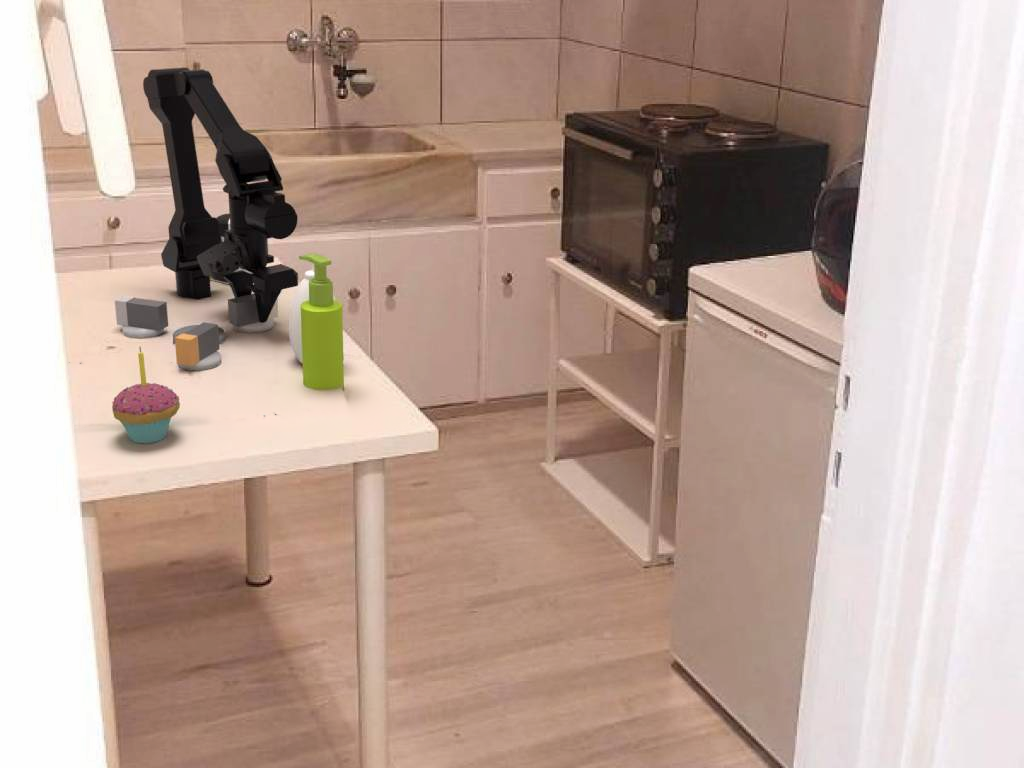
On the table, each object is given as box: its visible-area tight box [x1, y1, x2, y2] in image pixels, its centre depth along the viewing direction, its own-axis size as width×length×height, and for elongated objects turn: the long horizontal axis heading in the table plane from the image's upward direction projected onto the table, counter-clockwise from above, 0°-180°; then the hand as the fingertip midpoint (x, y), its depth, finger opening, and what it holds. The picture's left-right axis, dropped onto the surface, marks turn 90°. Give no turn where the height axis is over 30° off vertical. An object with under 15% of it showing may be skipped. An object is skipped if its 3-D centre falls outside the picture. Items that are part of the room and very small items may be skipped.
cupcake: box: [111, 345, 181, 444], centre depth 154 cm, size 9×8×12 cm
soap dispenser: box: [298, 253, 345, 392], centre depth 169 cm, size 6×7×20 cm
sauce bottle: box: [288, 262, 337, 364], centre depth 177 cm, size 8×8×18 cm
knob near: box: [114, 295, 169, 339], centre depth 188 cm, size 8×6×5 cm
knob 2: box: [227, 293, 279, 334], centre depth 192 cm, size 8×6×5 cm
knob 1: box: [174, 321, 222, 371], centre depth 176 cm, size 8×6×5 cm
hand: (253, 317), depth 192 cm, fingers open, 5 cm apart
